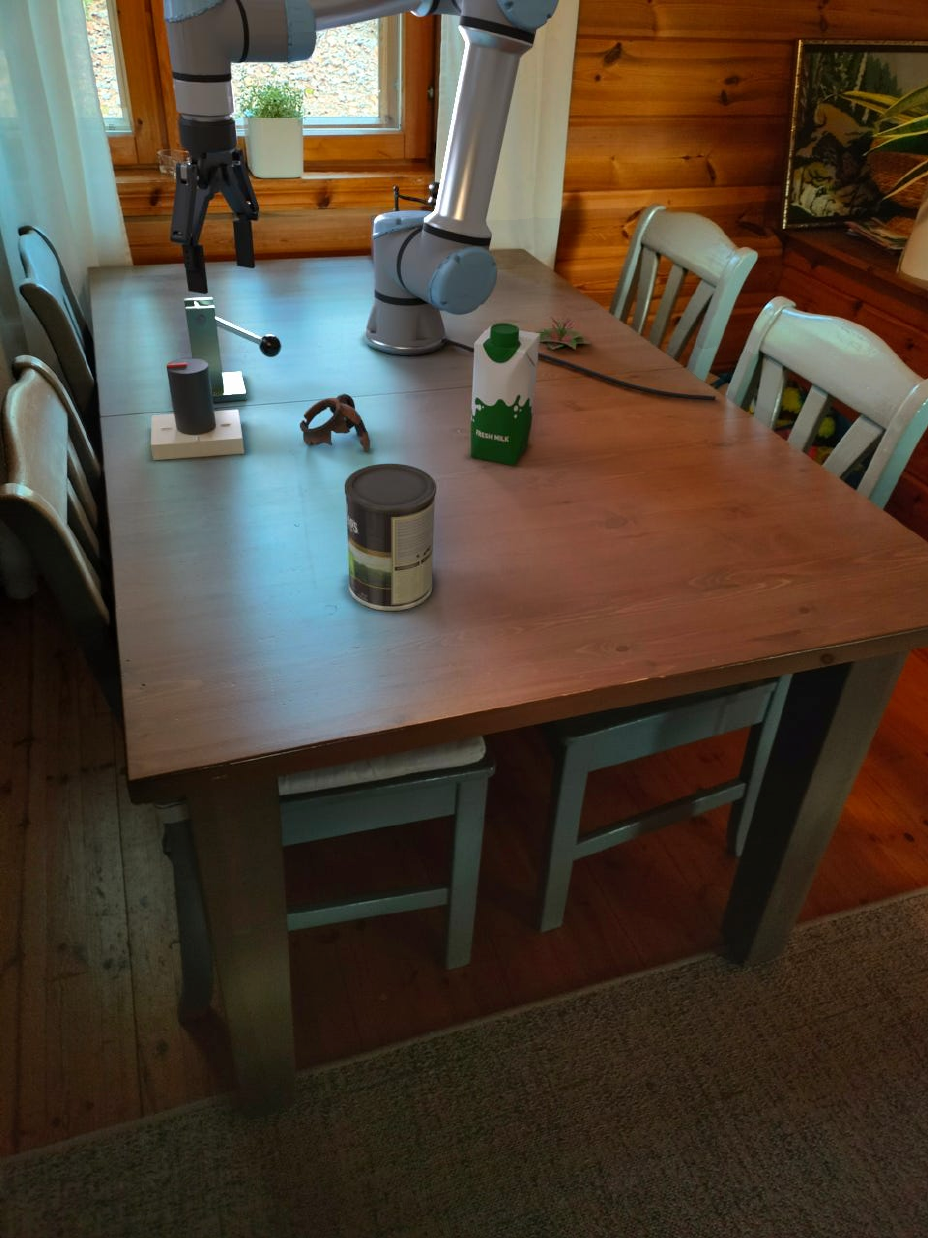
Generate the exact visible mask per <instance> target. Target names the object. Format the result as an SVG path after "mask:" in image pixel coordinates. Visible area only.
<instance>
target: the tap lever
mask: <svg viewBox="0 0 928 1238" xmlns="http://www.w3.org/2000/svg"><path fill="white" fill-rule="evenodd" d="M196 306H203V305H201V304H199V303H197V302H194V304H193V306H192V307H196ZM216 324H217V328H220V329H223V330H225V331H227V332H229V333H232V334H233V335H236V336H238V337H240V338H242V339H245V340H247V341H248V342H251V343H253V344H256V345H258V347H259V350H260V352H261V354H262V355H263V356H264V357H267V358H274V357H277V356H278V355H279V354H280V352H281V350H282V342H281V340H280V339H279V337H277V336H276V335H274V334H265V335H264V336H261V337H260V336H259V335H256V334H254V333H253V332H250V331H248V330H245V329H244V328H241V327H239V326H237V325H235V324H232V323H230V322H228V321H226V320H224V319H222V318H219V317H217V316H216Z"/></svg>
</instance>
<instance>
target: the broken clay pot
mask: <svg viewBox="0 0 928 1238" xmlns="http://www.w3.org/2000/svg"><path fill="white" fill-rule="evenodd" d="M328 408H329V412H331V413H332V416H331V417H330V418H329V419H328V420H327V421H325V422H324V423H323V424H320V425H319V426H316V427H313V428H309V427H310V424H311V422H312V421H313V420H314V419H315V417H317V416H318V415H320V414H321V413H322V412H324V411H326V410H328ZM303 418H304V419H305V420H306V421H305V420H304V419H303V420H301V422H300V423H299V429H300V431H301V432H302V440H303V442H304V443H305V444H306V445H309V446H318V445H321V444H326V445H329V446H333V443H332V432H333V433H335V434H344V435H345V434H346V435H347V434H349V433H350V432H351V429H352V428H354V430H355V433H356V437H357V438H361V439H360V440H359V442H360V444H361V445H362V449H363V452H365V453H367V452H368V451H369V449H370V446H371V439H370V438H369V432H368V431H367V428H366V425H365V423H364V420H363V419H362V416H361V415H360V414H359V413H358V412H357V410H356V405H355V400H354V399H353V398H352V396H350V395H349V394H348V393H342V394H339V395H337V397H328V398H323V399H321V400H318V401H317V402H315V403H314V404H313V405H312V406H311V407H309V408H308V409H307V410H306V411H305V413H304V414H303Z"/></svg>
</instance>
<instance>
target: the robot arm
mask: <svg viewBox="0 0 928 1238" xmlns="http://www.w3.org/2000/svg"><path fill="white" fill-rule="evenodd" d="M559 2H560V0H162V3H163V20H164V22H165V30H166V37H167V44H168V52H169V59H170V66H171V76H172V80H173V81H172V82H173V91H174V100H175V109H176V112H177V113H179V114H180V116H179V117H178V119H177V121H176V122H177V127H178V128H177V129H178V138H179V144H180V146H181V148H182V149H183V150H186V151H187V152H188V154H189V161H188V163H183V162H182V163H181V162H176V164H175V182H176V183H175V190H174V197H173V198H174V200H173V207H172V215H171V225H170V232H169V241H170V242H171V243H174V244H179V245H180V246H181V249H182V257H183V265H184V268H185V275H186V284H187V291H188V292H191V293H197V294H202V295H207V294H208V293H209V289H208V279H207V272H206V271H207V269H206V263H205V262H206V260H205V254H204V244H201V243H199V242H200V239H201V234H202V231H203V227H204V224H205V220H206V217H207V212H208V208H209V204H210V201H212V200H213V199H214V198H215V195H217V194H218V193H219V192H220V193H221V195H222V197H223V198H224V200H225V201H226V203H227V204H228V206H229V208H230V210H231V212H232V213H233V215H234V216H235V218H236V219H233V220H232V228H233V237H234V249H235V258H236V260H235V261H236V266H237V267H242V268H248V269H254V268H256V260H255V247H254V246H255V245H254V235H253V225H252V224H253V223H252V222H258V221H259V213H260V205H259V202H258V199H257V196H256V193H255V190H254V187H253V184H252V182H251V178H250V175H249V173H248V169H247V167H246V162H245V154H244V150H243V149H242V148H238V134H237V133H238V132H237V124H236V120H235V118H233V117H232V116H233V114H235V113H236V108H235V107H236V106H235V99H234V98H235V97H234V89H233V75H232V74H233V73H232V64H242V63H259V64H261V63H266V64H267V63H268V64H269V63H275V64H276V63H280V64H281V63H285V64H287V65H290V64H292V63H300V62H306V61H308V60H309V59H311V58H312V56H313V55H314V53H315V49H316V45H317V37H318V36H317V33H319V32H323V31H328V30H333V29H337V28H341V27H346V26H351V25H355V24H360V23H364V22H369V21H373V20H378V19H381V18H386V17H387V18H388V17H390V16H396V15H401V14H405V13H408V12H410V13H411V14H413V15H414V16H416V17H418V18H423V17H427V16H431V15H432V16H433V15H448V16H456V17H457V16H458V17H460V19H459V25H458V30H459V31H460V33H461V35H462V37H463V40H464V41H465V47H464V53H463V58H462V65H461V70H460V75H459V80H458V86H457V91H456V96H455V102H454V108H453V113H452V117H451V119H452V120H451V123H450V128H449V135H448V140H447V145H446V151H445V154H444V155H445V156H444V161H443V167H442V171H441V179H440V182H439V183H440V188H439V193H438V198H437V204H436V206H435V209H434V211H429V210H400V211H396V212H390V211H388V212H389V213H388V212H384V213H381V214H378V215H379V216H378V217H377V218H376V219H375V221H374V229H373V237H372V238H373V246H374V261H373V285H374V287H373V290H374V293H373V295H374V298H373V304H372V306H371V310H370V312H369V316H368V320H367V323H366V327H365V330H364V331H365V332H364V333H365V343H366V344H367V345H368V346H369V347H370V348H372V349H374V350H376V351H379V352H382V353H385V354H391V355H397V356H398V355H399V356H417V355H424V354H430V353H433V352H437V351H438V350H440V349H441V348H442V347H444V345H445V344H446V345H451V346H453V347H457V348H460V349H463V350H466V351H468V352H470V353H474V347H471V346H468V345H466V344H463V343H461V342H457V341H454V340H451V339H448V338H446V333H447V332H446V329H445V325H444V321H443V318H442V314H441V312H446V313H448V314H451V315H455V316H463V315H468V314H470V313H473V312H474V311H477V310H478V309H479V307H480V306H482V305H484V304H485V303H486V302H487V300H488V299H489V298H490V296H491V295H492V293H493V291H494V288H495V286H496V283H497V280H498V265H497V263H496V262H495V257H494V256H493V255H492V254H491V251H490V247H491V244H492V243H491V241H492V237H493V232H492V231H491V229H490V228H489V226H488V224H487V217H488V214H489V213H488V212H489V208H490V203H491V199H492V193H493V189H494V185H495V179H496V175H497V170H498V166H499V161H500V156H501V151H502V147H503V141H504V137H505V133H506V127H507V122H508V118H509V114H510V109H511V104H512V99H513V95H514V89H515V85H516V80H517V75H518V71H519V67H520V61H521V58H522V57H523V56H524V55H525V54H526V53H527V52H529V51H530V50H532V49H533V48H534V44H535V39H536V35H537V30H538V29H540V28H542V27H543V26H545V25H546V24H547V23H548V21H549V19H552V18H553V16H554V15H555V12H556V10H557V8H558V5H559ZM538 358H540V359H544V360H547V361H550V362H553V363H556V364H560V365H563V366H565V367H569V368H571V369H574V370H576V371H579V372H582V373H584V374H587V375H589V376H593V377H595V378H598V379H601V380H604V381H607V382H610V383H613V384H616V385H618V386H622V387H625V388H629V389H633V390H637V391H640V392H645V393H649V394H654V395H659V396H664V397H670V398H678V399H685V400H686V399H687V400H698V401H699V400H700V401H713V402H714V401H715V402H716V400H717V399H716V398H717V396H716V395H705V394H704V395H703V394H691V393H681V392H672V391H666V390H660V389H654V388H650V387H646V386H641V385H638V384H634V383H630V382H627V381H623V380H619V379H616V378H615V377H611V376H608V375H605V374H603V373H600V372H597V371H594V370H591V369H589V368H585V367H583V366H580V365H577V364H575V363H572V362H569V361H567V360H563V359H560V358H557V357H555V356H550V355H548V354H544V353H541V352H538Z"/></svg>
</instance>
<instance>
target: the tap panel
mask: <svg viewBox="0 0 928 1238" xmlns="http://www.w3.org/2000/svg"><path fill="white" fill-rule="evenodd" d="M214 412H215V420H216V427H215V428H214V429H213V430H212V431H210V432H208V433H204V434H199V435H188V434H184V433H181V432H179V431H178V430H177V429H176V423H175V417H174V413H166V414H165V413H164V414H152V415H151V424H150V425H151V427H150V434H151V435H150V448H151V454H152V458H153V461H162V460H176V459H177V460H178V459H189V458H190V459H191V458H201V457H217V456H227V455H242V454H245V448H244V446H245V445H244V438H243V432H242V424H241V417H240V410H239V409H227V410H214Z"/></svg>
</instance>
